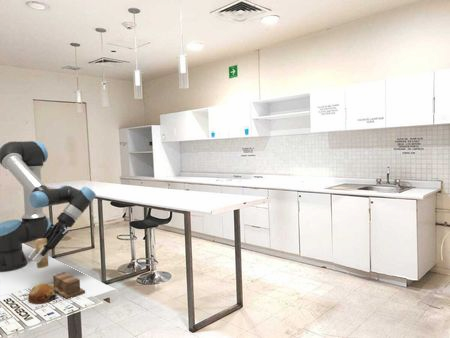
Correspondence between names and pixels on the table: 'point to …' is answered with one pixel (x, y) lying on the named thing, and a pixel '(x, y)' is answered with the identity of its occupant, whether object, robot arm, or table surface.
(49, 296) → the bread roll
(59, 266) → the table surface
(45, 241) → the post
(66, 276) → the base
